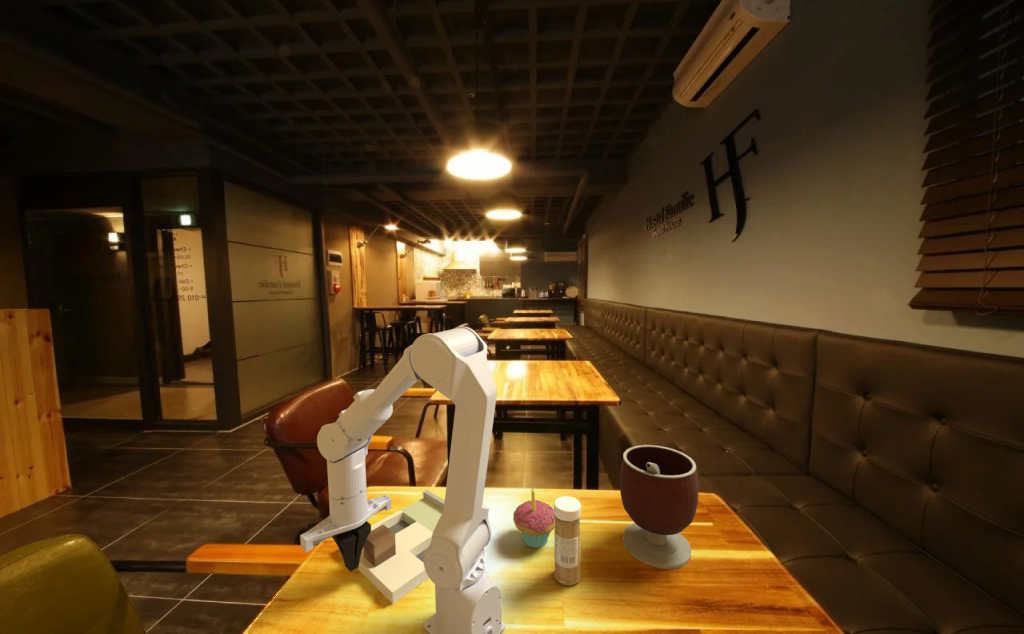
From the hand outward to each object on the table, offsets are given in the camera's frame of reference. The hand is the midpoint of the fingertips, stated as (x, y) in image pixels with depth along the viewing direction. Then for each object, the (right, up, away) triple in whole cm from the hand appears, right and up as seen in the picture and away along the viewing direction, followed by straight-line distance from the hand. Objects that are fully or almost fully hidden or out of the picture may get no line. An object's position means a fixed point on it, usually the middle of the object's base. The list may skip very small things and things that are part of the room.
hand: (351, 566), depth 63 cm
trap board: (+8, -2, +9) cm, 12 cm away
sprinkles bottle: (+36, -3, +1) cm, 37 cm away
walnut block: (+3, -1, +4) cm, 5 cm away
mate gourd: (+54, -2, +8) cm, 55 cm away
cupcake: (+32, -2, +11) cm, 33 cm away
